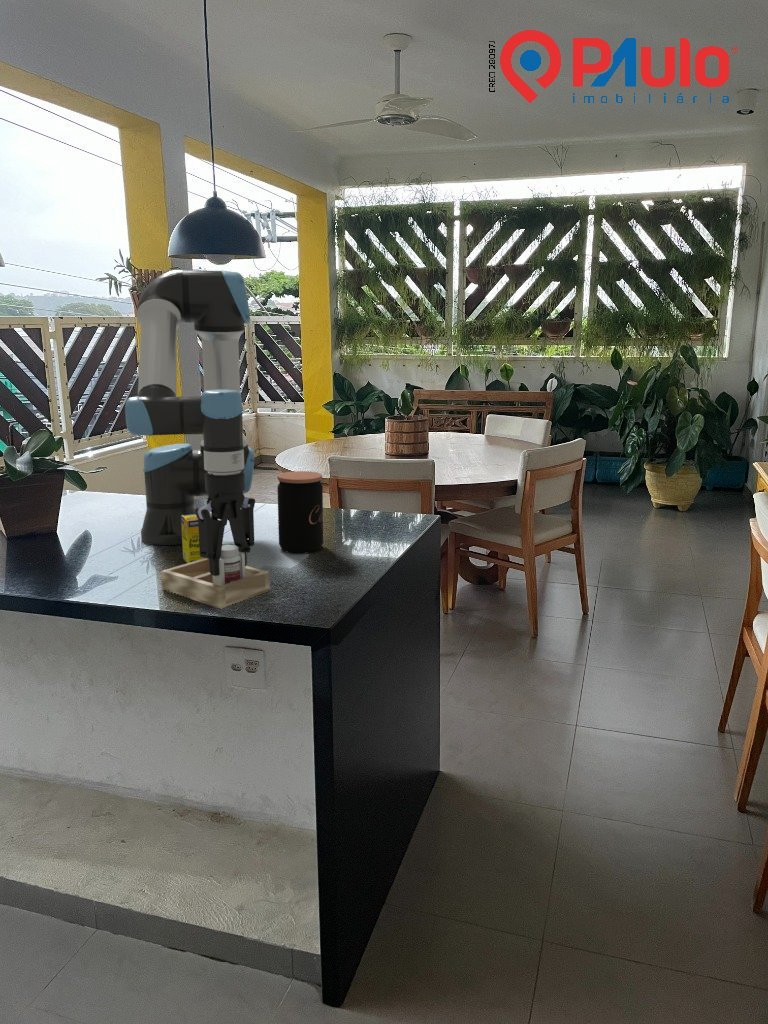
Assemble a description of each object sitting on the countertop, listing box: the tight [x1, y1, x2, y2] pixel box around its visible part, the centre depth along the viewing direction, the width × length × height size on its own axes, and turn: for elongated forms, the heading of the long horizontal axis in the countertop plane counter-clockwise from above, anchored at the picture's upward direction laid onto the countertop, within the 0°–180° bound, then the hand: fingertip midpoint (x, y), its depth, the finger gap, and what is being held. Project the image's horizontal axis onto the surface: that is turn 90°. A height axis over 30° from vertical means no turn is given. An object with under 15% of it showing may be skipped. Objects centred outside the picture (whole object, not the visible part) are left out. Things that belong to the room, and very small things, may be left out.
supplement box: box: [181, 514, 203, 564], centre depth 171 cm, size 6×6×11 cm
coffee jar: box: [276, 470, 324, 555], centre depth 182 cm, size 11×11×18 cm
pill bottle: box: [220, 544, 241, 584], centre depth 151 cm, size 5×5×8 cm
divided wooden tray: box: [160, 558, 271, 610], centre depth 154 cm, size 18×13×4 cm
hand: (229, 586), depth 152 cm, fingers closed on pill bottle, 5 cm apart
